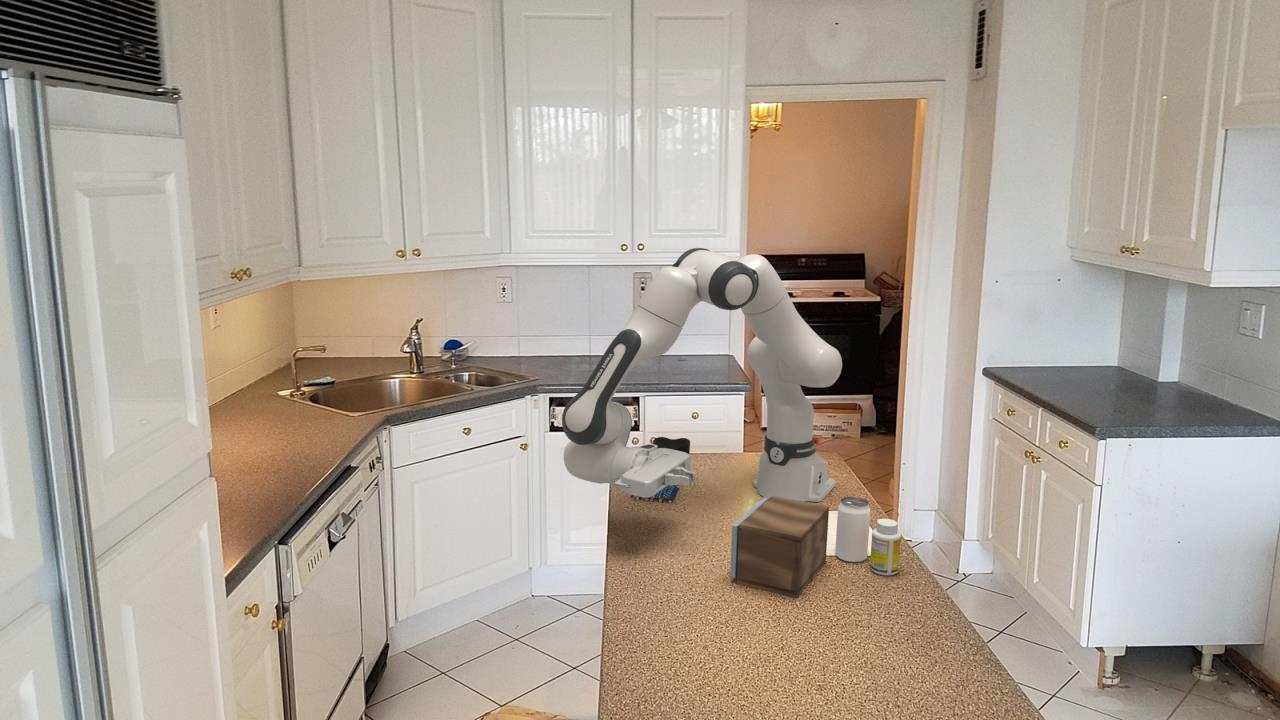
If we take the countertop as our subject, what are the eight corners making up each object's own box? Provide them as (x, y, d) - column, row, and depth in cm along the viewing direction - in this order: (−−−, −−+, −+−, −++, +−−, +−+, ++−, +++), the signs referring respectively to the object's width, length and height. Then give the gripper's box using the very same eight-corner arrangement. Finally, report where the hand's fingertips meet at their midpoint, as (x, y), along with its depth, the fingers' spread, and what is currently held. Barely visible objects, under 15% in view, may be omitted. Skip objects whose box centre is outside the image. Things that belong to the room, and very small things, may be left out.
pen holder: (671, 470, 239) (671, 433, 237) (696, 479, 232) (697, 441, 230) (644, 477, 233) (645, 440, 231) (670, 487, 226) (671, 448, 224)
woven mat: (637, 487, 227) (637, 479, 227) (679, 491, 225) (679, 483, 225) (629, 502, 217) (629, 494, 217) (673, 505, 215) (673, 497, 215)
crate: (769, 550, 189) (772, 495, 187) (825, 562, 184) (829, 506, 181) (736, 583, 174) (739, 524, 171) (797, 597, 168) (800, 537, 166)
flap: (761, 544, 189) (763, 497, 187) (766, 545, 189) (768, 498, 187) (730, 577, 174) (732, 525, 172) (735, 578, 174) (737, 526, 171)
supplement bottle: (894, 564, 183) (897, 517, 181) (901, 576, 178) (905, 527, 176) (866, 564, 183) (869, 516, 181) (873, 576, 178) (876, 527, 176)
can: (843, 547, 191) (847, 493, 189) (872, 556, 187) (876, 500, 185) (829, 557, 186) (832, 501, 184) (858, 566, 182) (862, 509, 180)
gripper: (608, 469, 184) (669, 480, 177) (654, 441, 201) (711, 450, 195) (608, 498, 185) (669, 510, 179) (654, 468, 202) (711, 478, 196)
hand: (692, 479), depth 187 cm, fingers closed
